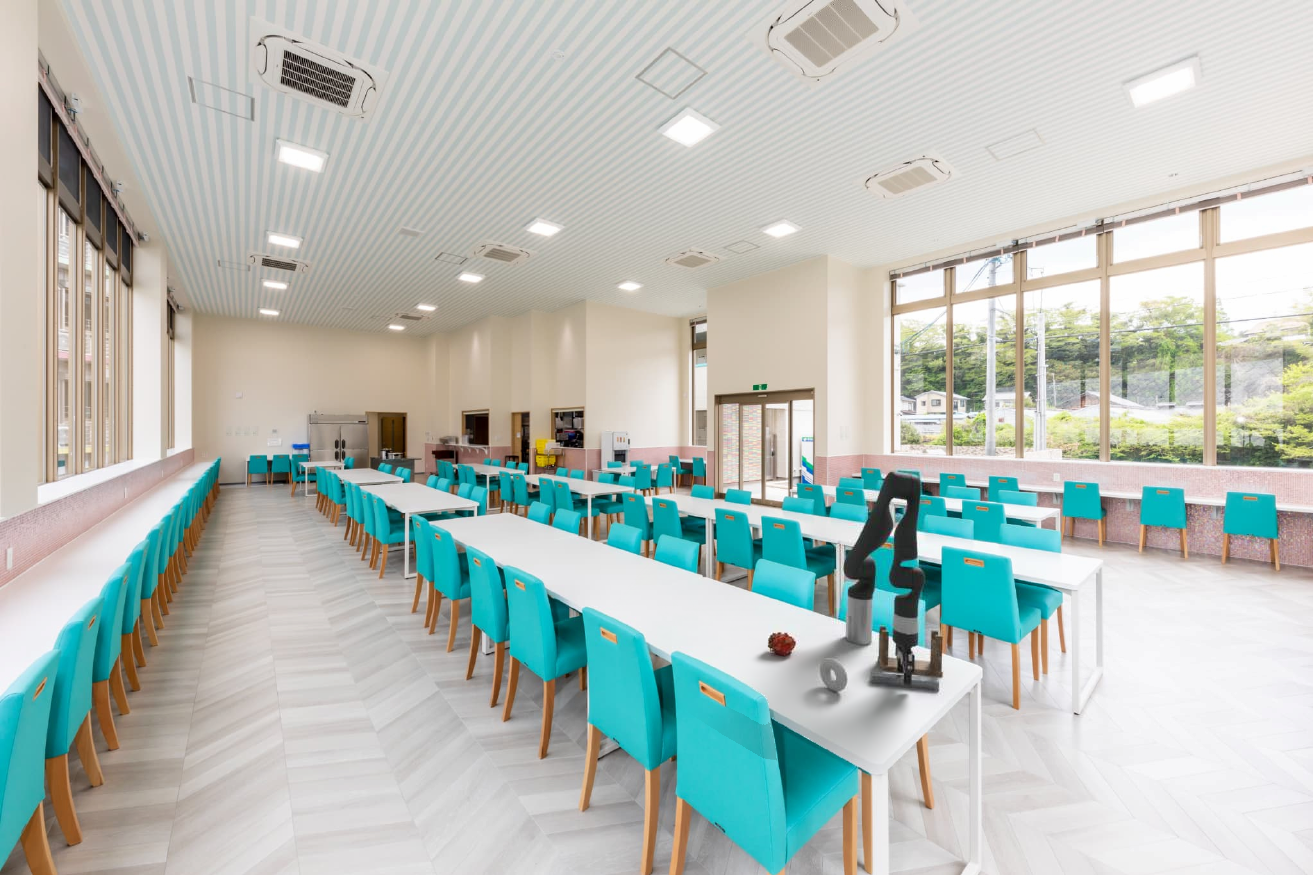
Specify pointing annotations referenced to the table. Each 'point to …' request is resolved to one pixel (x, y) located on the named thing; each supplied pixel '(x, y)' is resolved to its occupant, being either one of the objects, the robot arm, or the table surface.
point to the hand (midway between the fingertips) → (904, 678)
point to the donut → (839, 672)
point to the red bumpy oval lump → (781, 643)
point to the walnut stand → (920, 666)
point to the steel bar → (899, 681)
